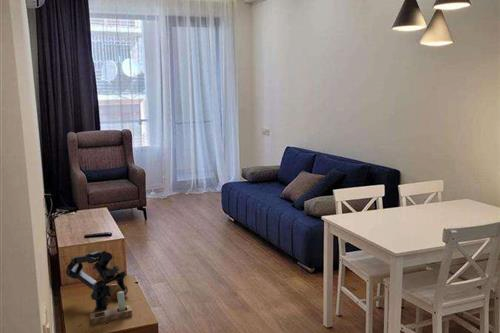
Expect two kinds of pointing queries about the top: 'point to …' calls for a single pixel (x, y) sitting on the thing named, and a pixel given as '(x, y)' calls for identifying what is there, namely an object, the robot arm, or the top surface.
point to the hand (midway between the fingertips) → (117, 293)
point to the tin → (116, 290)
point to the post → (121, 301)
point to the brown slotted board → (110, 315)
